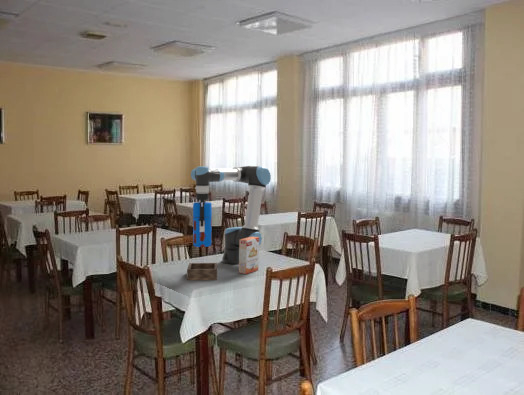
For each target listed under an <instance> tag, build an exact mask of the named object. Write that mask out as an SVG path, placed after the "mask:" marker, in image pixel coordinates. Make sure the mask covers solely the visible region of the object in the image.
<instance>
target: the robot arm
mask: <svg viewBox="0 0 524 395" xmlns="http://www.w3.org/2000/svg"><path fill="white" fill-rule="evenodd" d="M190 178H191V180H193V181H195V187H194V189H195V192H196V193H195V200H197V201H199V202H200V219H199V221H200V232H205V227H204V203H205V202H206V201H209V199H210V193H209V192H210V183H219V182H223V181H232V182H235V183H237V182H238V183H243V184H247V187H248V188H249V191H248V193H249V194H248V199H247V206H246V213H245V219H244V225H242V226H235V227H227V228H225V230H224V252H223V255H222V258H221V262H222V263H224V264H228V265H229V264H230V265H237V264H238V265H239V240H240V239H244V238H248V237H259V247H260V245H261V244H262V241H263V236H262V234H261V233H260V228H259V225H258V224H259V218H260V212H261V205H262V200H263V199H262V198H263V191H264V190H265V189H266V188H267V187H266V186H267V185H269V183H271V179H272V175H271V172H270V170H269V169H268V168H267V167H266V166H260V165H259V166H255V165H254V166H253V165H247V166H236V167H235V166H234V167H232V168H210V167H209V166H203V165H202V166H201V165H200V166H196V167H195V168H193V169H192V170H191V171H190Z"/></svg>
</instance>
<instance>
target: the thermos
mask: <svg viewBox="0 0 524 395" xmlns="http://www.w3.org/2000/svg"><path fill="white" fill-rule="evenodd" d="M212 209H213V208H212V202H207V201H205V203H204V227H205V232H200V221H199V219H200V201H199V202H193V204H192V211H193V212H192V216H193V217H192V227H193V228H192V234H193V235H192V236H193V237H192V241H193V247H196V248H205V247H211V246H212V242H213V241H212V240H213V239H212V238H213V237H212V236H213V235H212V231H213V230H212V228H213V226H212V224H213V223H212V222H213V220H212V218H213V217H212V216H213V215H212V214H213V212H212Z"/></svg>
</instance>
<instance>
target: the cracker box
mask: <svg viewBox="0 0 524 395" xmlns="http://www.w3.org/2000/svg"><path fill="white" fill-rule="evenodd" d="M259 257H260V246H259V237H248V238H244V239H240V240H239V264H238V273H239V274H243V275H248V274H250V273H253V272H256V271H259V263H260V262H259V259H260V258H259Z"/></svg>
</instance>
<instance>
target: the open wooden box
mask: <svg viewBox="0 0 524 395" xmlns="http://www.w3.org/2000/svg"><path fill="white" fill-rule="evenodd" d="M186 280H187V281H199V280H200V281H207V280H208V281H210V280H214V281H215V280H216V281H217V280H218V263H217V262H189V263H188V265H187V270H186Z"/></svg>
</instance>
